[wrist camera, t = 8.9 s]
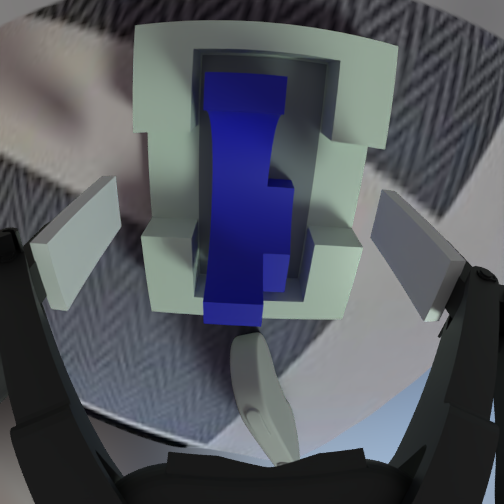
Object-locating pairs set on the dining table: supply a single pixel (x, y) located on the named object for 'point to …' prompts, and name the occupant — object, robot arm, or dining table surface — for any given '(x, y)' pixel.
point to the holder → (282, 156)
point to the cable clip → (245, 198)
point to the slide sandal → (262, 399)
